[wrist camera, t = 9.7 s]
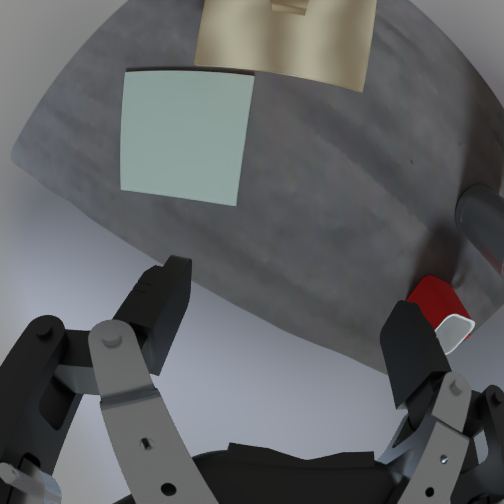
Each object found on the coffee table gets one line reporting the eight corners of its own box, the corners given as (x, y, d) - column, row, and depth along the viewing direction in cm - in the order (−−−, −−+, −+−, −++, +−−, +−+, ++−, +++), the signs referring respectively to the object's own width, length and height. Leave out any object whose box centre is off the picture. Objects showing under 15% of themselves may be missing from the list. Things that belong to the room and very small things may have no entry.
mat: (254, 76, 31) (254, 76, 30) (236, 204, 40) (235, 206, 40) (127, 72, 31) (125, 72, 31) (122, 188, 40) (120, 189, 40)
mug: (400, 305, 46) (417, 349, 37) (426, 270, 42) (450, 311, 33) (440, 320, 47) (458, 359, 38) (464, 289, 43) (488, 327, 34)
